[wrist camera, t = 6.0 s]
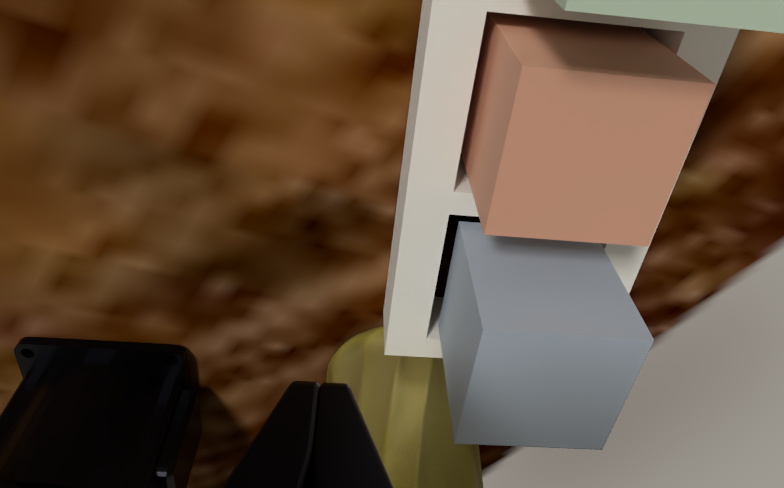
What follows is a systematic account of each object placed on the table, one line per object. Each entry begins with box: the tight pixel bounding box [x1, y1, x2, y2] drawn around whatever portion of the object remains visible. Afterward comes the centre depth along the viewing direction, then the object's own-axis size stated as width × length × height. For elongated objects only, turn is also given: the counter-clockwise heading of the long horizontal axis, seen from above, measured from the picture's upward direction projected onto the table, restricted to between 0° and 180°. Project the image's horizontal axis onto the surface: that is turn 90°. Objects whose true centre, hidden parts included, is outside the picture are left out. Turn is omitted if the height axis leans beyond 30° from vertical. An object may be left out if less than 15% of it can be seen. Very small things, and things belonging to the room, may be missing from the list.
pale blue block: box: [438, 221, 654, 450], centre depth 18 cm, size 4×4×5 cm
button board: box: [383, 0, 740, 358], centre depth 18 cm, size 8×19×2 cm, turn 174°
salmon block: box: [461, 11, 716, 247], centre depth 17 cm, size 4×4×5 cm
